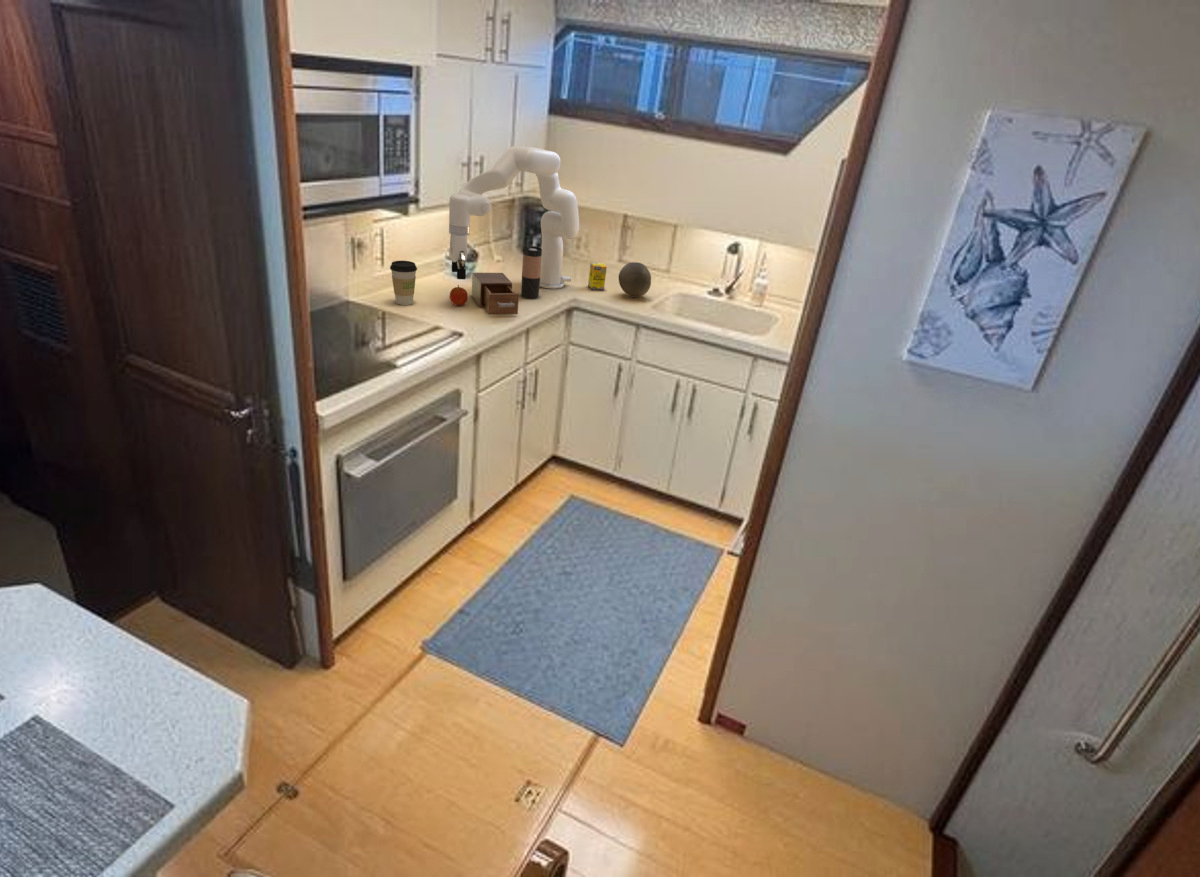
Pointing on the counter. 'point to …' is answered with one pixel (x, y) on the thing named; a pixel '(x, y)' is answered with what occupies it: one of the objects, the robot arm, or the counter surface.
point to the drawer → (500, 299)
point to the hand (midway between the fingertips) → (458, 275)
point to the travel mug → (531, 272)
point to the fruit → (458, 296)
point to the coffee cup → (403, 281)
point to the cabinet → (486, 279)
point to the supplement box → (597, 276)
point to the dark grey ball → (635, 279)
